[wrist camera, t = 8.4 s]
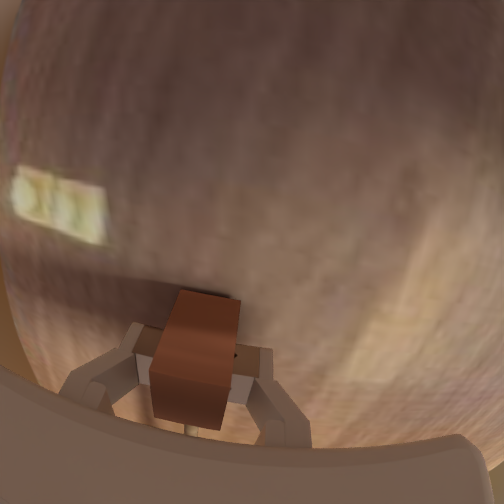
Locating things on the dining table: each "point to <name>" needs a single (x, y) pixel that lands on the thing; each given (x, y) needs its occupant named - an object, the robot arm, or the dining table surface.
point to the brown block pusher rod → (195, 361)
